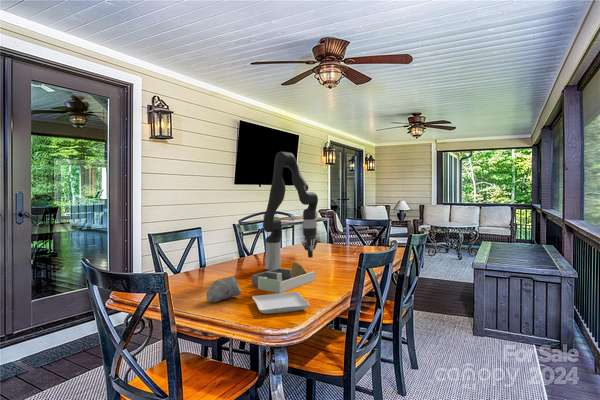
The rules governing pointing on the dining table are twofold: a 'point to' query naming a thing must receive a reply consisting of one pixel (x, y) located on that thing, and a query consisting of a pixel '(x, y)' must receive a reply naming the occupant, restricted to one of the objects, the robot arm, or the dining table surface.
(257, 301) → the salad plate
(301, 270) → the rock
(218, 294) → the gray stone
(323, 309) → the dining table surface
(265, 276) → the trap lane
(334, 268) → the dining table surface
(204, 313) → the dining table surface
